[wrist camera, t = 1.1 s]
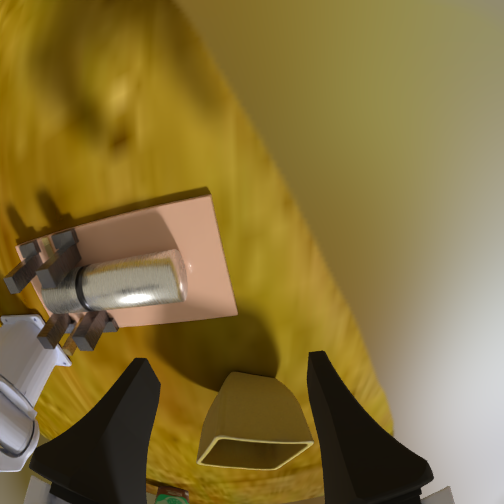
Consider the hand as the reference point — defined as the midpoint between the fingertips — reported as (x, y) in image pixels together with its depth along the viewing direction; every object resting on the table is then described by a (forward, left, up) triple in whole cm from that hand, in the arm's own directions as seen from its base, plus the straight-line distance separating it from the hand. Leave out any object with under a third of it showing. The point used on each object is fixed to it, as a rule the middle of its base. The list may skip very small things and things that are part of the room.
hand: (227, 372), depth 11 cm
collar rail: (-15, 0, -10) cm, 19 cm away
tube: (-9, 0, -10) cm, 14 cm away
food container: (-34, -74, -11) cm, 82 cm away
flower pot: (-1, -16, -11) cm, 19 cm away
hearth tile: (-10, 0, -10) cm, 15 cm away
